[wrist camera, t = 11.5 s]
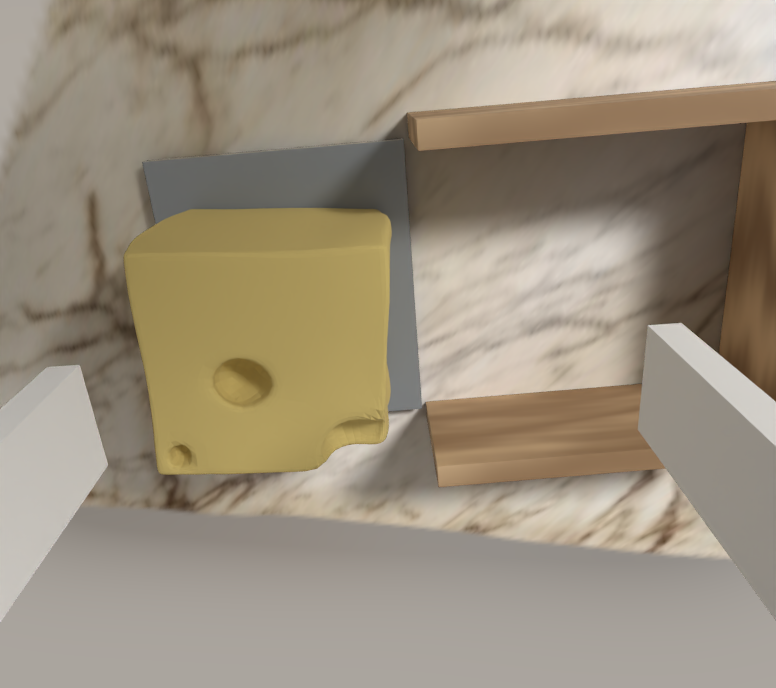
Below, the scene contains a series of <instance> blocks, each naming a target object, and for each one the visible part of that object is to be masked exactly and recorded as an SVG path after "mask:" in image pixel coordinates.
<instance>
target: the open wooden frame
mask: <svg viewBox="0 0 776 688" xmlns="http://www.w3.org/2000/svg"><path fill="white" fill-rule="evenodd" d="M407 119H408V134H409V139H410V140H411V142H412V143H413V144H414V146H415V147H416V148H417V150H418V151H423V150H434V149H446V148H458V147H469V146H481V145H492V144H504V143H516V142H527V141H539V140H550V139H562V138H574V137H585V136H597V135H609V134H620V133H632V132H643V131H655V130H667V129H678V128H690V127H701V126H713V125H725V124H736V123H747V125H746V133H745V141H744V150H743V158H742V166H741V174H740V183H739V191H738V199H737V207H736V215H735V224H734V232H733V240H732V248H731V257H730V265H729V273H728V281H727V289H726V298H725V306H724V314H723V322H722V331H721V339H720V347H719V355H720V356H722V357H723V358H724V359H725V360H726V361H728V362H729V363H730V364H731V365H732V366H734V367H735V368H736V369H737V370H738V371H740V372H741V373H742V374H743V375H744V376H746V377H747V378H748V379H749V380H750V381H752V382H753V383H754V384H755V385H756V386H758V387H759V388H760V389H761V390H762V391H764V392H765V393H766V394H767V395H768V396H770V397H771V398H772V399H773V400H774V401H776V81H769V82H758V83H746V84H734V85H723V86H711V87H700V88H688V89H677V90H665V91H653V92H642V93H630V94H619V95H607V96H596V97H584V98H573V99H561V100H549V101H538V102H526V103H515V104H503V105H492V106H480V107H468V108H457V109H445V110H434V111H422V112H411V113H407ZM641 390H642V384H633V385H621V386H609V387H598V388H586V389H574V390H562V391H550V392H538V393H526V394H514V395H502V396H490V397H478V398H466V399H454V400H442V401H430V402H426V410H427V422H428V428H429V434H430V439H431V445H432V451H433V457H434V463H435V469H436V475H437V480H438V486H439V487H447V486H459V485H471V484H483V483H495V482H508V481H520V480H532V479H544V478H556V477H568V476H580V475H592V474H604V473H616V472H628V471H640V470H652V469H664V468H665V467H664V465H663V464H662V462H661V461H660V460H659V458H658V457H657V455H656V454H655V453H654V451H653V450H652V449H651V447H650V446H649V444H648V443H647V442H646V440H645V439H644V437H643V436H642V435H641V433H640V432H639V431H638V422H639V411H640V401H641Z"/></svg>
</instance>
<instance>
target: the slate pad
mask: <svg viewBox="0 0 776 688" xmlns="http://www.w3.org/2000/svg"><path fill="white" fill-rule="evenodd" d="M142 163H143V168H144V172H145V177H146V182H147V186H148V191H149V195H150V200H151V205H152V209H153V214H154V219H155V223H156V224H157V223H159V222H161V221H162V220H164V219H166V218H168V217H171V216H173V215H176V214H179V213H182V212H185V211H187V210H189V209H260V208H344V209H377V210H379V211H380V212H381V213H383V214H385V215H387V216H388V218H389V219H390V222H391V229H392V236H391V242H390V304H389V320H388V336H387V366H388V371H389V378H390V387H391V394H390V400H389V403H388V411H399V410H411V409H422V402H421V388H420V373H419V358H418V344H417V329H416V314H415V300H414V285H413V270H412V256H411V241H410V226H409V212H408V197H407V182H406V168H405V153H404V140H403V138H402V139H390V140H379V141H367V142H355V143H344V144H332V145H321V146H309V147H297V148H286V149H274V150H263V151H251V152H240V153H228V154H216V155H205V156H193V157H182V158H170V159H158V160H147V161H144V162H142Z"/></svg>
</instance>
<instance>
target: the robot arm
mask: <svg viewBox="0 0 776 688" xmlns="http://www.w3.org/2000/svg"><path fill="white" fill-rule="evenodd" d="M638 431H639V432H640V433H641V435H642V436H643V437H644V439H645V440H646V442H647V443H648V444H649V446H650V447H651V449H652V450H653V451H654V453H655V454H656V455H657V457H658V458H659V460H660V461H661V462H662V464H663V465H664V467H665V468H666V469H667V471H668V472H669V473H670V475H671V476H672V478H673V479H674V480H675V482H676V483H677V485H678V486H679V487H680V489H681V490H682V491H683V493H684V494H685V496H686V497H687V498H688V500H689V501H690V502H691V504H692V505H693V507H694V508H695V509H696V511H697V512H698V514H699V515H700V516H701V518H702V519H703V520H704V522H705V523H706V525H707V526H708V527H709V529H710V530H711V532H712V533H713V534H714V536H715V537H716V538H717V540H718V541H719V543H720V544H721V545H722V547H723V548H724V550H725V551H726V552H727V554H728V555H729V556H730V558H731V559H732V561H733V562H734V563H735V564H736V566H737V567H738V569H739V570H740V572H741V573H742V574H743V576H744V577H745V579H746V580H747V581H748V582H749V584H750V585H751V587H752V588H753V590H754V591H755V592H756V594H757V595H758V597H759V598H760V599H761V601H762V602H763V604H764V605H765V606H766V608H767V609H768V610H769V612H770V613H771V615H772V616H773V617H774V619H775V620H776V401H774V400H773V399H772V398H771V397H770V396H768V395H767V394H766V393H765V392H764V391H762V390H761V389H760V388H759V387H758V386H756V385H755V384H754V383H753V382H752V381H750V380H749V379H748V378H747V377H746V376H744V375H743V374H742V373H741V372H740V371H738V370H737V369H736V368H735V367H734V366H732V365H731V364H730V363H729V362H728V361H726V360H725V359H724V358H723V357H722V356H720V355H719V354H718V353H717V352H716V351H714V350H713V349H712V348H711V347H710V346H708V345H707V344H706V343H705V342H704V341H702V340H701V339H700V338H699V337H698V336H696V335H695V334H694V333H693V332H692V331H690V330H689V329H688V328H687V327H686V326H684V325H683V324H682V323H673V324H658V325H648V327H647V338H646V348H645V359H644V369H643V380H642V390H641V401H640V411H639V422H638ZM107 466H108V463H107V459H106V455H105V452H104V448H103V445H102V441H101V438H100V434H99V431H98V427H97V424H96V420H95V417H94V413H93V410H92V406H91V403H90V399H89V396H88V392H87V389H86V385H85V382H84V378H83V375H82V371H81V367H80V365H69V366H54V367H46V368H45V369H44V370H43V371H42V372H41V373H40V374H39V375H38V376H36V377H35V378H34V379H33V380H32V381H31V382H30V383H29V384H27V385H26V386H25V387H24V388H23V389H22V390H21V391H20V392H19V393H17V394H16V395H15V396H14V397H13V398H12V399H11V400H10V401H8V402H7V403H6V404H5V405H4V406H3V407H2V408H1V409H0V622H1V621H2V620H3V618H4V617H5V615H6V614H7V612H8V611H9V609H10V608H11V606H12V605H13V603H14V602H15V601H16V599H17V598H18V596H19V595H20V593H21V592H22V590H23V588H24V587H25V586H26V584H27V583H28V581H29V580H30V579H31V577H32V576H33V574H34V572H35V571H36V570H37V568H38V567H39V565H40V564H41V562H42V561H43V560H44V558H45V556H46V555H47V553H48V552H49V551H50V549H51V548H52V547H53V545H54V544H55V542H56V540H57V539H58V538H59V536H60V535H61V533H62V532H63V530H64V529H65V527H66V526H67V525H68V523H69V522H70V520H71V519H72V517H73V516H74V514H75V513H76V511H77V510H78V509H79V507H80V506H81V504H82V503H83V501H84V500H85V498H86V497H87V495H88V494H89V492H90V491H91V490H92V488H93V487H94V485H95V484H96V482H97V481H98V479H99V478H100V476H101V475H102V473H103V472H104V471H105V469H106V468H107Z"/></svg>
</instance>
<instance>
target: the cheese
mask: <svg viewBox="0 0 776 688" xmlns="http://www.w3.org/2000/svg"><path fill="white" fill-rule="evenodd" d="M391 236H392V229H391V222H390V219H389V218H388V216H387V215H385V214H383V213H381V212H380V211H379V210H377V209H344V208H260V209H189V210H187V211H185V212H182V213H179V214H176V215H173V216H171V217H168V218H166V219H164V220H162V221H161V222H159V223H157V224H156V225H154V226H152V227H151V228H149V229H148V230H146V231H145V232H143V233H142V234H140V235H139V236H137V237H136V238H135V239H134V240H133V241H132V242H131V243H130V245H129V247H128V249H127V250H126V252H125V254H124V268H125V275H126V282H127V289H128V295H129V301H130V306H131V311H132V316H133V320H134V325H135V330H136V334H137V339H138V343H139V348H140V352H141V357H142V362H143V366H144V371H145V376H146V381H147V387H148V393H149V400H150V407H151V415H152V424H153V433H154V444H155V453H156V461H157V468H158V471H159V473H160V474H165V475H176V474H244V473H271V472H298V471H308V470H313V469H317V468H318V467H320V466H321V465H322V464H323V463H324V462H326V460H327V459H328V458H329V456H330V455H331V454H332V453H333V452H334V451H335V450H337V449H339V448H340V447H343V446H346V445H351V444H379V443H381V442H383V441H384V440H385V439H386V437H387V434H388V429H389V419H388V403H389V400H390V394H391V387H390V378H389V371H388V366H387V336H388V320H389V304H390V242H391Z"/></svg>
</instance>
